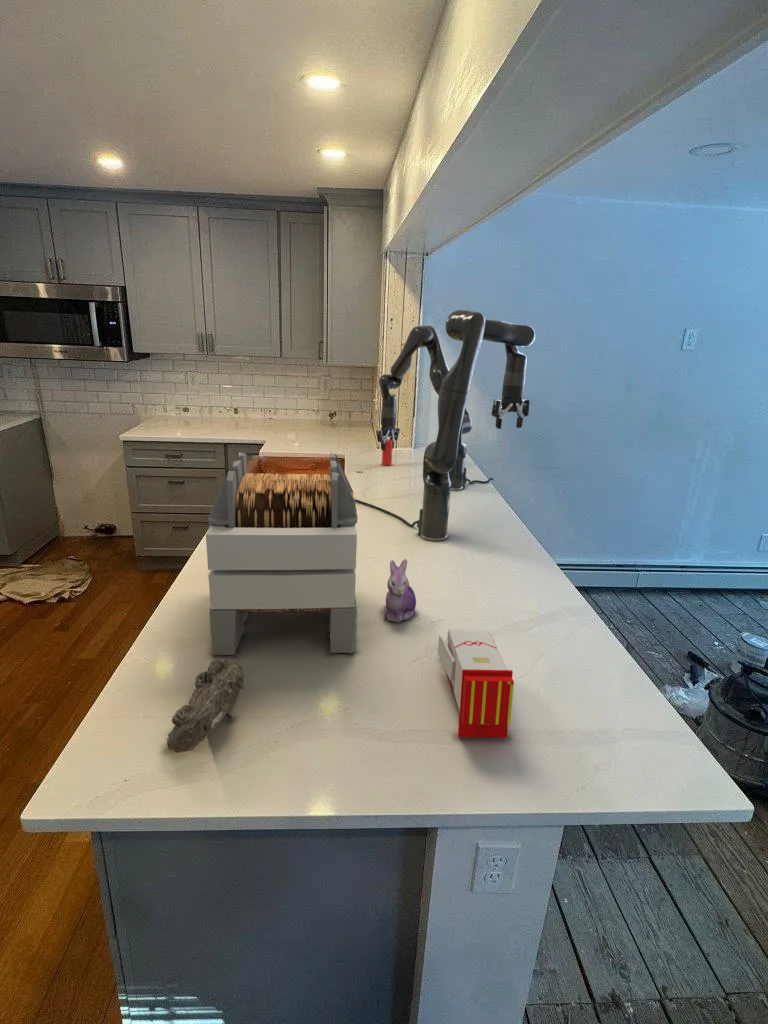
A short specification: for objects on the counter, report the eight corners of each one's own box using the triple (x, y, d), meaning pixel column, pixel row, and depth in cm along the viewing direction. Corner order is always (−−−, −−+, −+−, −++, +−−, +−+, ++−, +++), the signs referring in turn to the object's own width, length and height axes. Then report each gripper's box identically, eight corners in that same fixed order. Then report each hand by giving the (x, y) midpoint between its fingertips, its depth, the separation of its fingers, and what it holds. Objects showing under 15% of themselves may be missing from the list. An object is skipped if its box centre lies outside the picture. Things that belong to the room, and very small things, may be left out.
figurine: (392, 627, 141) (395, 572, 136) (374, 608, 149) (376, 556, 144) (425, 619, 145) (429, 566, 140) (405, 601, 154) (408, 550, 149)
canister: (380, 464, 286) (381, 440, 282) (384, 462, 290) (384, 438, 286) (389, 465, 284) (390, 441, 280) (392, 463, 288) (394, 440, 284)
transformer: (231, 586, 157) (223, 443, 144) (349, 585, 161) (352, 445, 147) (209, 657, 126) (197, 482, 112) (356, 653, 129) (362, 483, 116)
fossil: (192, 660, 117) (244, 628, 112) (224, 691, 120) (276, 661, 115) (142, 746, 98) (202, 712, 93) (182, 779, 101) (242, 748, 96)
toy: (488, 613, 130) (523, 677, 101) (484, 667, 133) (517, 744, 104) (435, 612, 130) (455, 676, 101) (432, 666, 133) (451, 743, 103)
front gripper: (524, 382, 209) (519, 425, 215) (491, 382, 204) (486, 426, 210) (536, 384, 203) (530, 429, 208) (502, 385, 198) (497, 430, 203)
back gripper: (394, 413, 286) (393, 446, 292) (372, 415, 277) (371, 449, 283) (404, 415, 281) (402, 449, 286) (382, 418, 272) (381, 452, 277)
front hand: (508, 428), depth 209 cm, fingers open, 8 cm apart
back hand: (387, 449), depth 285 cm, fingers closed on canister, 5 cm apart
